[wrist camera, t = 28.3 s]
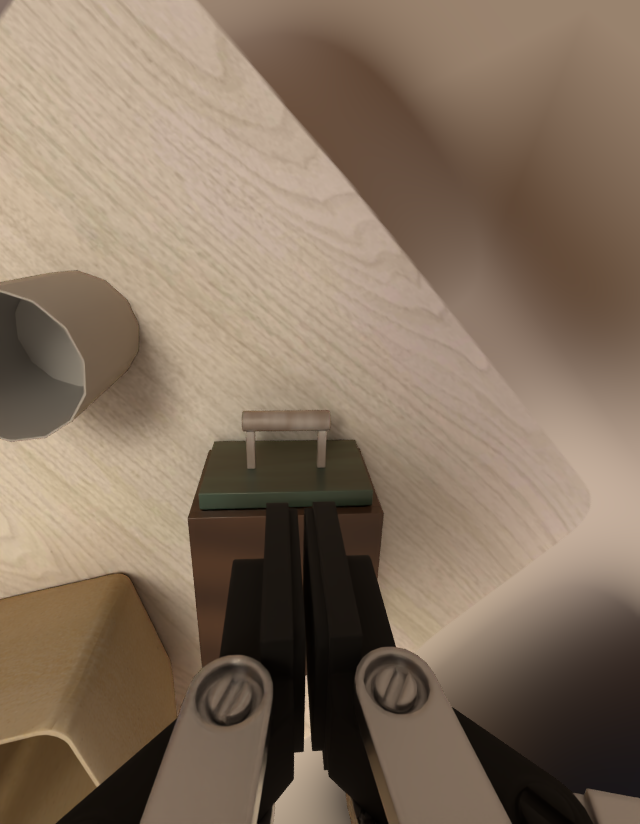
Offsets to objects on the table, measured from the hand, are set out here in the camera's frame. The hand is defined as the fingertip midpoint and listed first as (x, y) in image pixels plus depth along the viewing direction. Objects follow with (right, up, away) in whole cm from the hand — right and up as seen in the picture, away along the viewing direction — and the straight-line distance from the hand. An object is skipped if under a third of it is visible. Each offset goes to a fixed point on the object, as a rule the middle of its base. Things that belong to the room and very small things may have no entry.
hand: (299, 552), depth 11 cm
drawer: (-2, -3, +27) cm, 28 cm away
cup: (-17, +10, +22) cm, 29 cm away
